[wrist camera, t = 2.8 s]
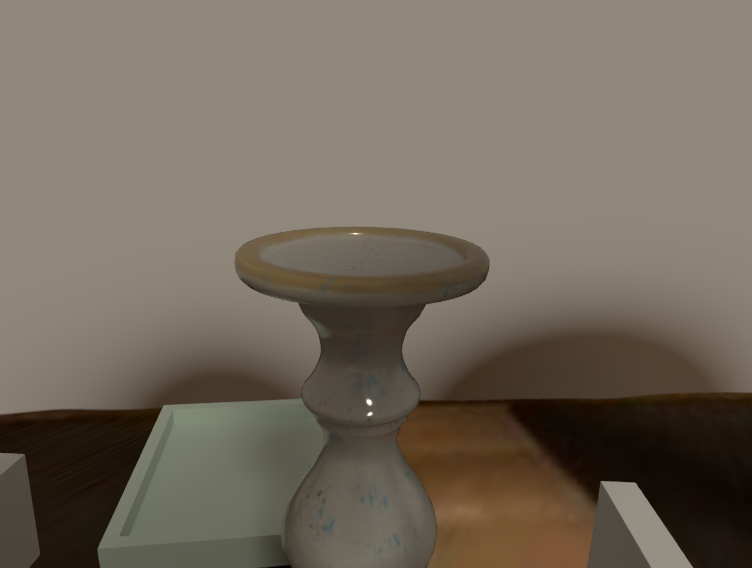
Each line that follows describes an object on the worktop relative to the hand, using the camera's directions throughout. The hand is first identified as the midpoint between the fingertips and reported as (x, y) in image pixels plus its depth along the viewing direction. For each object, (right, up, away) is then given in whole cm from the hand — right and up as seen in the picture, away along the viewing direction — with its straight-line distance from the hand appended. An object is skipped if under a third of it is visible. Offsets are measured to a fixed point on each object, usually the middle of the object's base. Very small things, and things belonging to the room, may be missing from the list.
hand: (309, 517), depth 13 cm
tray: (-8, -11, +34) cm, 36 cm away
